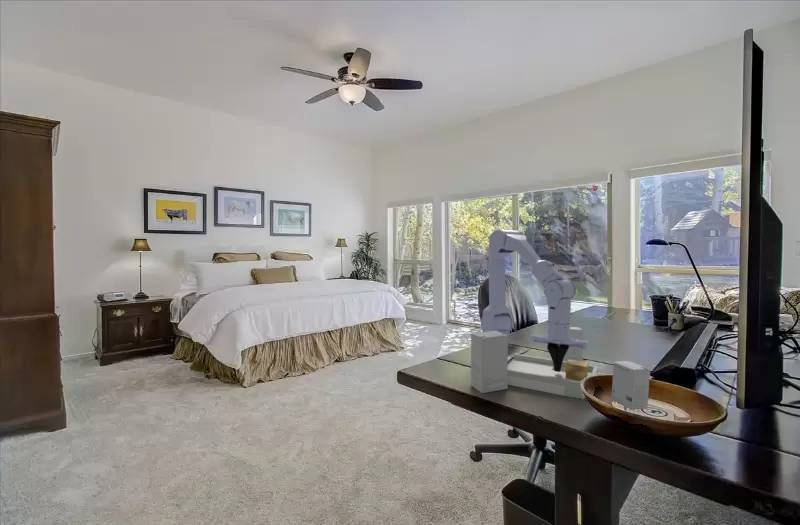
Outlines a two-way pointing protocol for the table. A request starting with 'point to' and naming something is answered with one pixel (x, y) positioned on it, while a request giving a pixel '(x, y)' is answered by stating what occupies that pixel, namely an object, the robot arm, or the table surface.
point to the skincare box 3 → (630, 385)
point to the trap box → (544, 376)
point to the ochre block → (576, 370)
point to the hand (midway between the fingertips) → (557, 370)
